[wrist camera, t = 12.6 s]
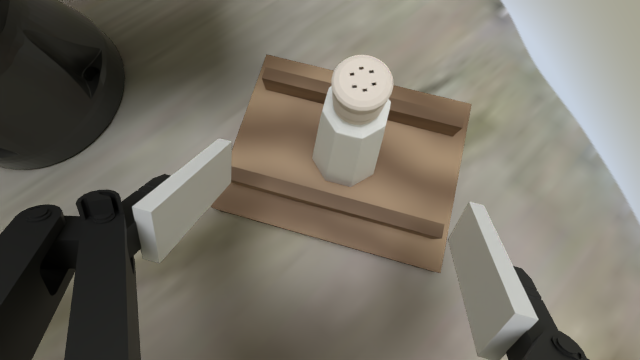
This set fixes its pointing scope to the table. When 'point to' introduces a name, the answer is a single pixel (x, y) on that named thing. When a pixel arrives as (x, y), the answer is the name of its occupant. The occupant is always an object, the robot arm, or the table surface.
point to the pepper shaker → (353, 120)
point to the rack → (339, 200)
